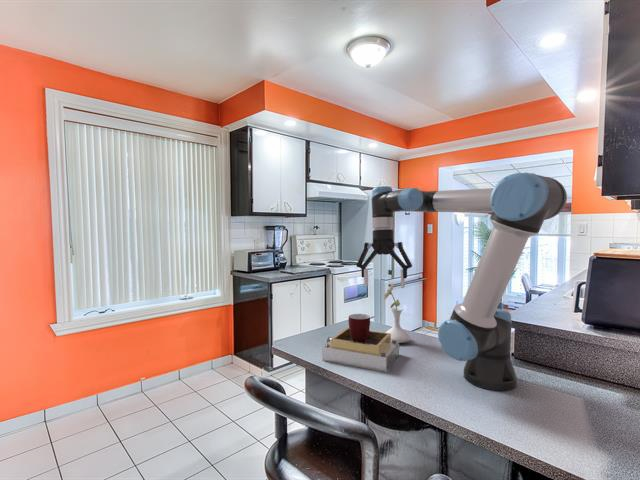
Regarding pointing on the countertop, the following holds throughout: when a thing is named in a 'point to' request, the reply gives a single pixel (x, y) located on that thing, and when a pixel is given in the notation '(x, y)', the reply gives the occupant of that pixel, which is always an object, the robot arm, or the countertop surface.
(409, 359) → the countertop surface
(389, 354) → the gold rimmed tray box
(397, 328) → the flower in vase
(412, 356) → the countertop surface
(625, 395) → the countertop surface
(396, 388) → the countertop surface
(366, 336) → the mug
